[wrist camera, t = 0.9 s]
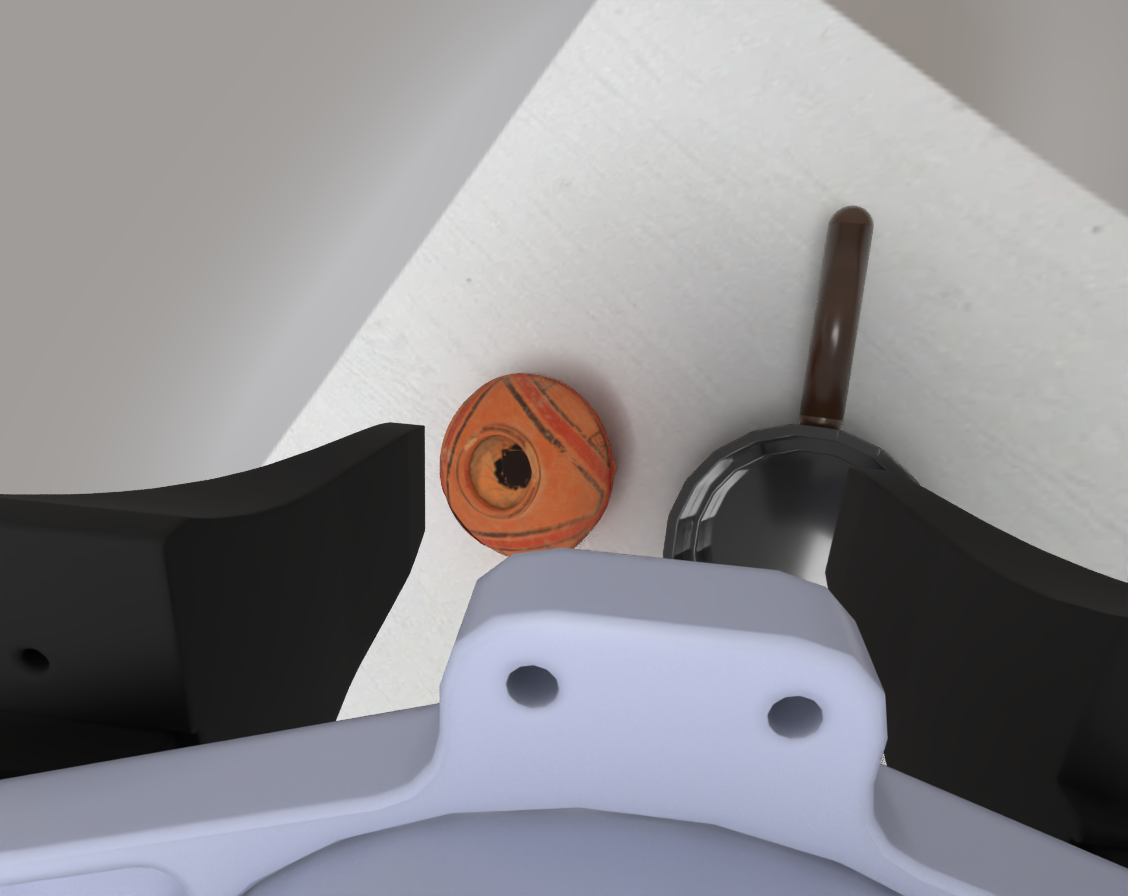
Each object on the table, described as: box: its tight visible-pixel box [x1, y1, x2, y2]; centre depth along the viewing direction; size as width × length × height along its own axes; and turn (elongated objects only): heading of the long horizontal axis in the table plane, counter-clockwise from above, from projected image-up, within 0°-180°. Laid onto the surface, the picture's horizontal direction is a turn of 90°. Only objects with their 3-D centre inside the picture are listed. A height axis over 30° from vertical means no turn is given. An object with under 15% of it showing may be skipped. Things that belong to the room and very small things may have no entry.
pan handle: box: [799, 206, 873, 430], centre depth 30 cm, size 9×2×2 cm, turn 172°
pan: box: [663, 424, 919, 589], centre depth 31 cm, size 10×10×3 cm
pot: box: [440, 373, 617, 556], centre depth 34 cm, size 8×8×7 cm
